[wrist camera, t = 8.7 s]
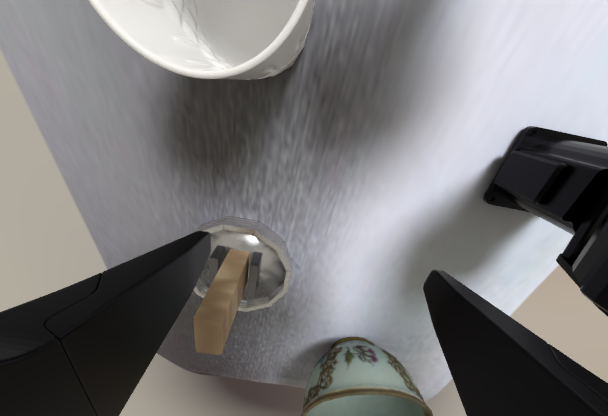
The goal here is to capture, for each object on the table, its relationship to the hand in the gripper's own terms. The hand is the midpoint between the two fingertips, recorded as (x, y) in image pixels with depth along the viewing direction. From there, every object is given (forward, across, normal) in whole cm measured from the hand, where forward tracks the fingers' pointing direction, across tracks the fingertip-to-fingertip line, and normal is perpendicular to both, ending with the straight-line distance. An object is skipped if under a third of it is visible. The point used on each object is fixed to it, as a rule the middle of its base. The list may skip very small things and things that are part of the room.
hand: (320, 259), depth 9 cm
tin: (+12, +6, +12) cm, 18 cm away
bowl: (+12, -10, +24) cm, 28 cm away
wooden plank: (+11, +6, +11) cm, 17 cm away
